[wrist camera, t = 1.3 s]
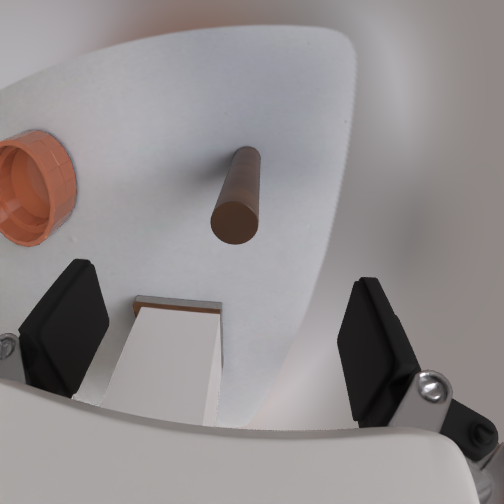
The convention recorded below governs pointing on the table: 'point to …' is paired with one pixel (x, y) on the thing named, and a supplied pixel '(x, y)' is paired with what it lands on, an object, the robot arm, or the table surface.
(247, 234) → the stick
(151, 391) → the striped white pedestal
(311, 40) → the table surface
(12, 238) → the bowl
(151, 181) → the table surface
